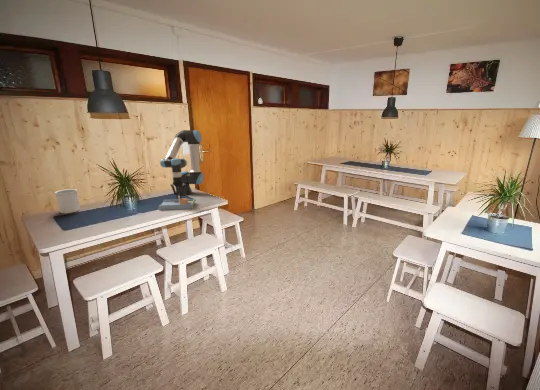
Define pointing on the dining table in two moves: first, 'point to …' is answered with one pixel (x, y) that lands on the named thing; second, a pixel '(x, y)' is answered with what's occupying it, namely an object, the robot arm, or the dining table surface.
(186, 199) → the block
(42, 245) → the dining table surface
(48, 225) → the dining table surface
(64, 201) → the utensil holder
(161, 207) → the trap tray
